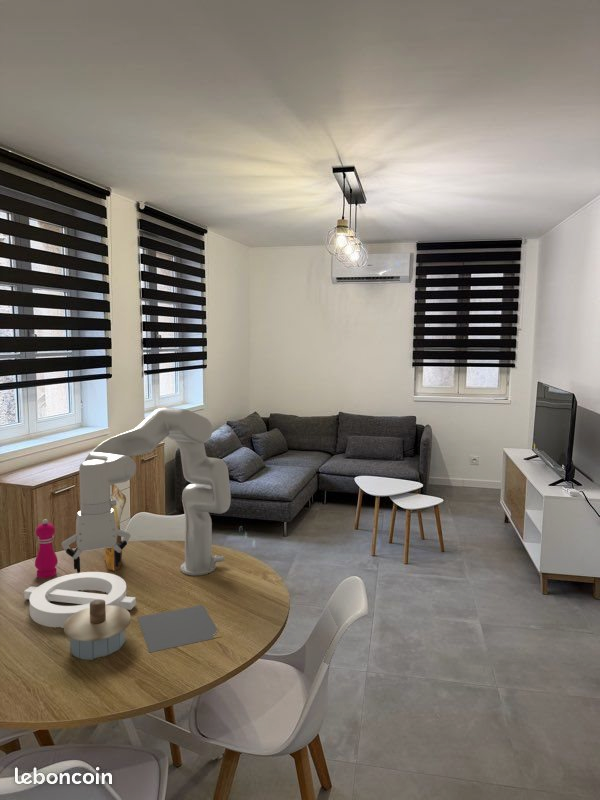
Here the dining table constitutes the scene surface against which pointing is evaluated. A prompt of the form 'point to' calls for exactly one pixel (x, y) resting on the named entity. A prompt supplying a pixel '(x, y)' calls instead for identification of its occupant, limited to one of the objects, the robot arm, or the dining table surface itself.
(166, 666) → the dining table surface
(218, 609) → the dining table surface
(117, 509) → the pancake mix bag
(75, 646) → the bowl
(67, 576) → the ring with crossbar
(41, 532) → the pepper mill
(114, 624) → the lid
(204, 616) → the mat
